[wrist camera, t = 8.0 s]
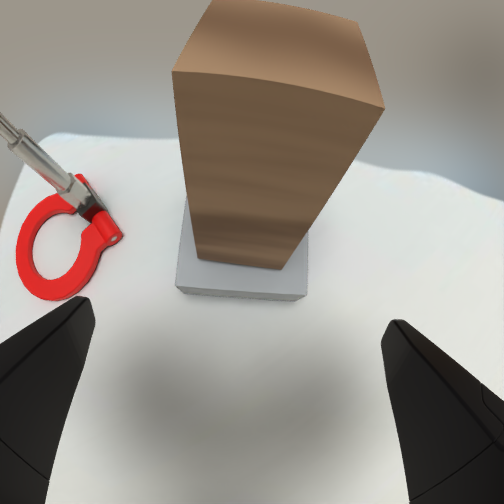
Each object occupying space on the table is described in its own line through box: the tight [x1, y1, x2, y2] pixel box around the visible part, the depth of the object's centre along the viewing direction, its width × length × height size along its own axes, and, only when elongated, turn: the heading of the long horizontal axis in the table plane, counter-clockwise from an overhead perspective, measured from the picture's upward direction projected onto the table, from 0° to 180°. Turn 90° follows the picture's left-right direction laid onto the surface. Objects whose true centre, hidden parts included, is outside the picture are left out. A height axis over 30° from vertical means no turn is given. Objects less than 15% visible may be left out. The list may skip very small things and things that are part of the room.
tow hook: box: [0, 112, 122, 301], centre depth 15 cm, size 9×14×10 cm
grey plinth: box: [175, 196, 308, 301], centre depth 21 cm, size 8×8×4 cm
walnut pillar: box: [172, 0, 385, 270], centre depth 13 cm, size 5×5×13 cm
